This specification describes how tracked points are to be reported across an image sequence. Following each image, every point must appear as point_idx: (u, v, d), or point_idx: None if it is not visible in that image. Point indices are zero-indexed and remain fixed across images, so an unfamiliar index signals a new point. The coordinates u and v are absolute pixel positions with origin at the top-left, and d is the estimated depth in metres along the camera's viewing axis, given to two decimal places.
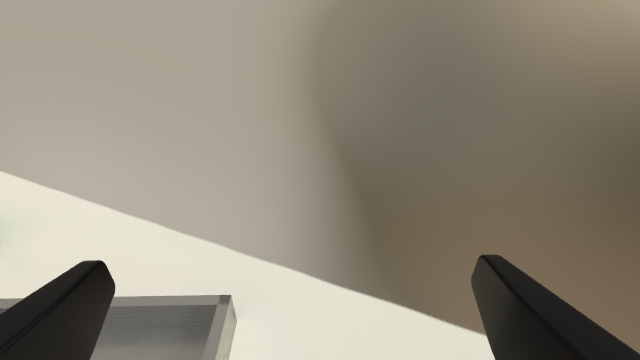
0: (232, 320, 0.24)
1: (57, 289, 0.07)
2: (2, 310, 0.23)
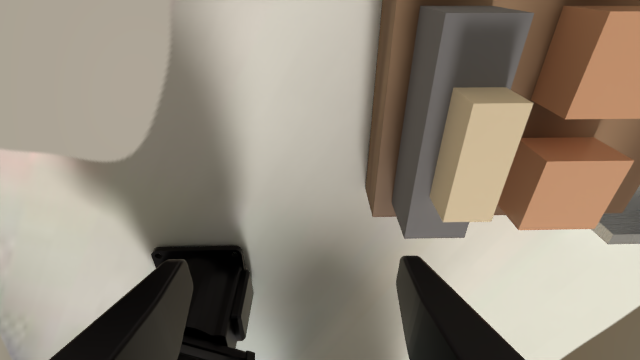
0: None
1: (153, 287, 0.07)
2: None
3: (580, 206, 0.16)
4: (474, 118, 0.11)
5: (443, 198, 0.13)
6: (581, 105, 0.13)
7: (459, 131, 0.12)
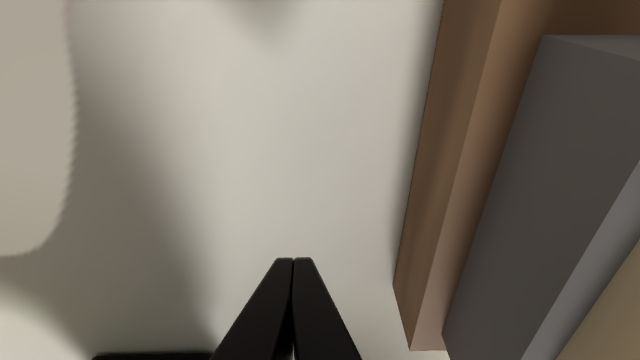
0: None
1: (278, 285, 0.07)
2: None
3: None
4: None
5: None
6: None
7: None
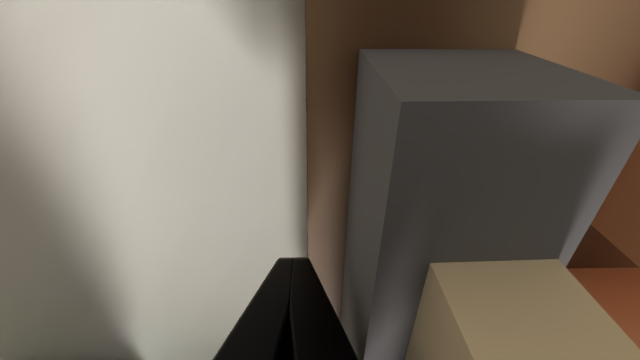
0: None
1: (281, 285, 0.07)
2: None
3: None
4: None
5: None
6: None
7: None
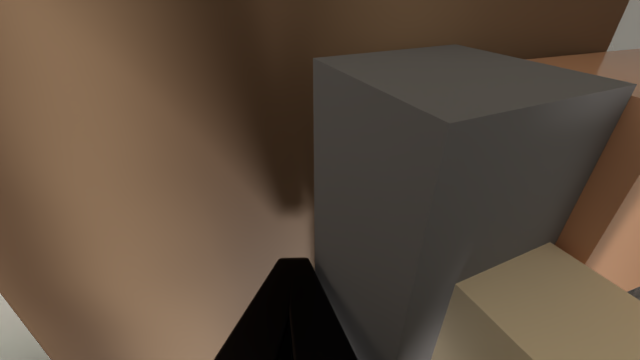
0: None
1: (281, 285, 0.07)
2: None
3: None
4: None
5: None
6: None
7: None
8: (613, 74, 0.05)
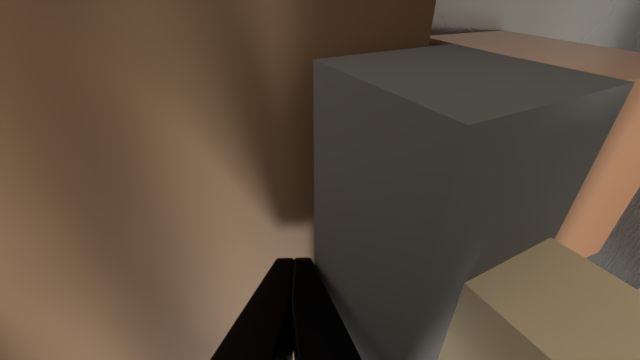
0: None
1: (279, 285, 0.07)
2: None
3: None
4: None
5: None
6: None
7: None
8: (600, 60, 0.05)
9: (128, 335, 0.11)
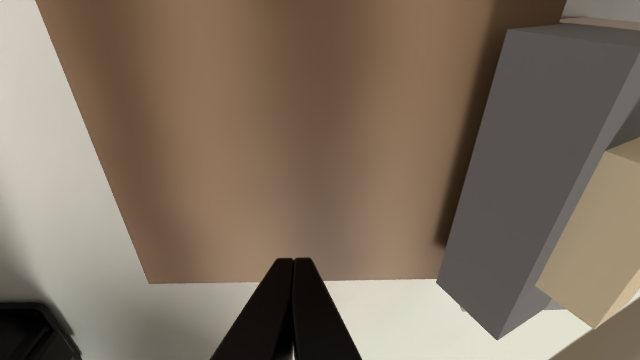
0: None
1: (278, 285, 0.07)
2: None
3: None
4: None
5: (592, 298, 0.09)
6: None
7: None
8: None
9: (294, 246, 0.14)
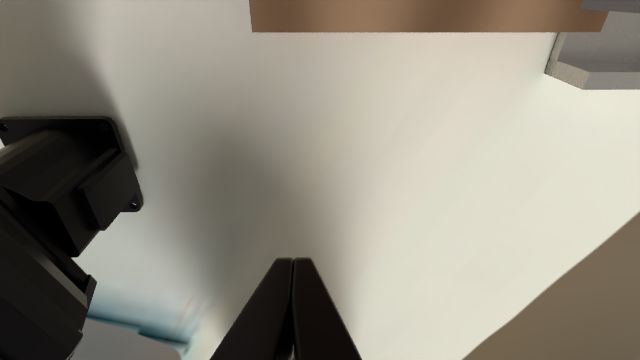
0: None
1: (278, 285, 0.07)
2: None
3: None
4: None
5: None
6: None
7: None
8: None
9: None
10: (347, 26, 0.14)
